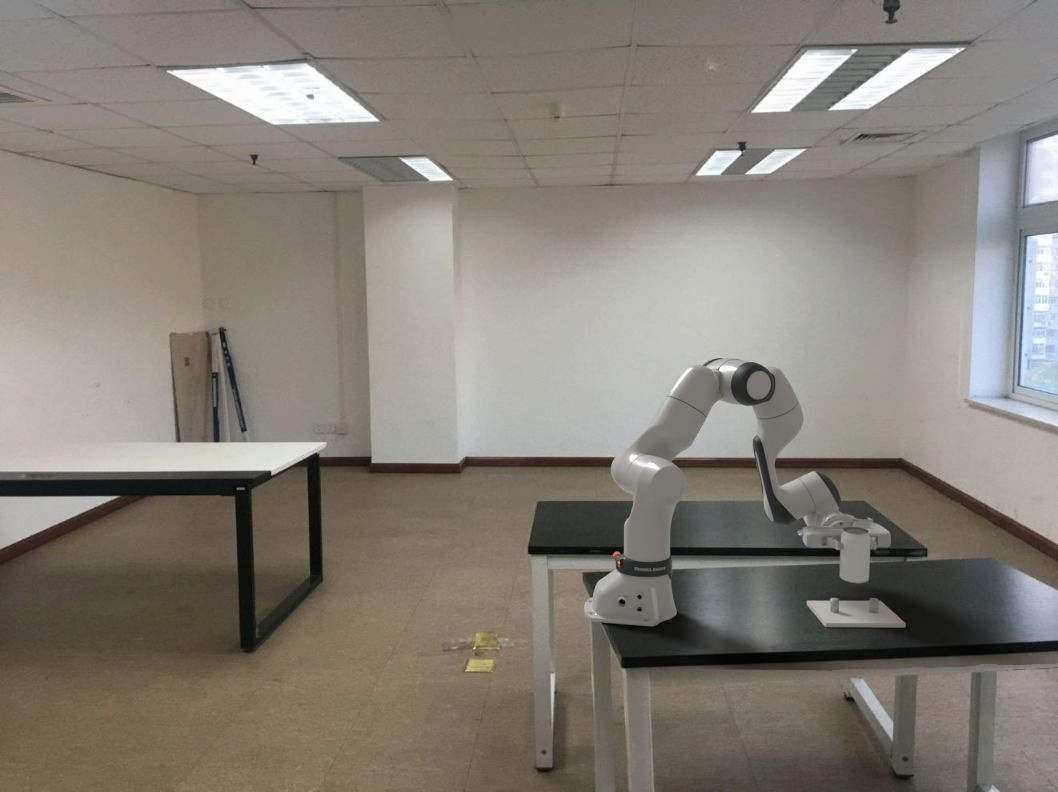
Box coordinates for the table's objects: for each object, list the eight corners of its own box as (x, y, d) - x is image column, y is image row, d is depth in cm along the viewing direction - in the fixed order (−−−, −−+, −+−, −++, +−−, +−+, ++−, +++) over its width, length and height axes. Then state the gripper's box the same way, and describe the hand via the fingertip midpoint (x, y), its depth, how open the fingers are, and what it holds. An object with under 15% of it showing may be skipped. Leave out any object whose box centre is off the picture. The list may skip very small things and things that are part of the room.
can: (873, 578, 182) (875, 530, 180) (861, 586, 177) (863, 536, 176) (846, 572, 186) (848, 524, 185) (834, 579, 182) (836, 530, 180)
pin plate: (825, 627, 176) (825, 610, 175) (806, 604, 190) (806, 588, 189) (905, 627, 175) (905, 610, 174) (880, 604, 189) (880, 589, 188)
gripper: (795, 518, 194) (812, 533, 180) (877, 517, 193) (901, 533, 179) (794, 542, 194) (812, 559, 181) (876, 541, 193) (900, 559, 180)
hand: (857, 546), depth 180 cm, fingers closed on can, 6 cm apart
